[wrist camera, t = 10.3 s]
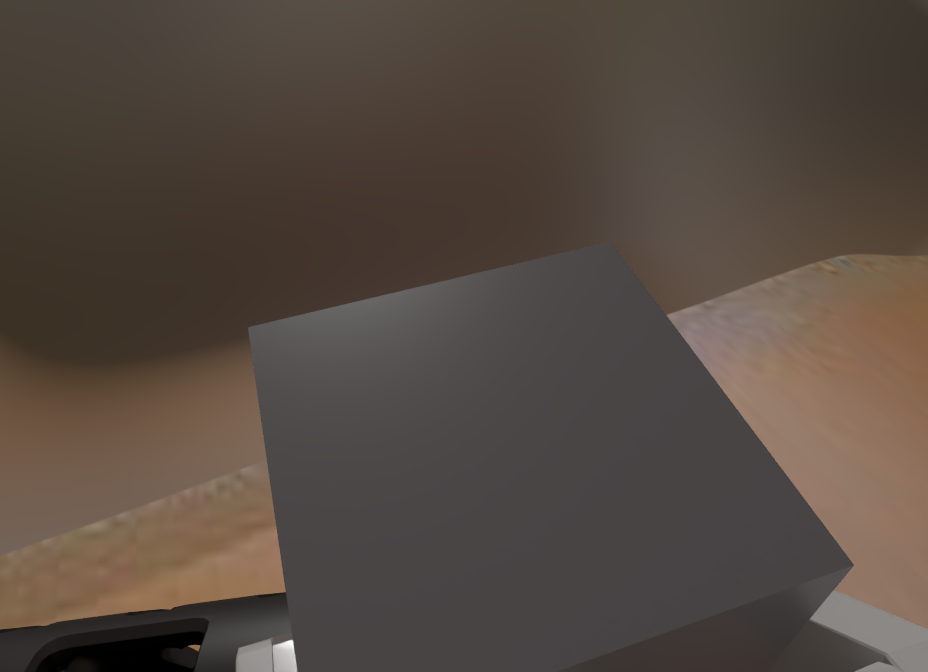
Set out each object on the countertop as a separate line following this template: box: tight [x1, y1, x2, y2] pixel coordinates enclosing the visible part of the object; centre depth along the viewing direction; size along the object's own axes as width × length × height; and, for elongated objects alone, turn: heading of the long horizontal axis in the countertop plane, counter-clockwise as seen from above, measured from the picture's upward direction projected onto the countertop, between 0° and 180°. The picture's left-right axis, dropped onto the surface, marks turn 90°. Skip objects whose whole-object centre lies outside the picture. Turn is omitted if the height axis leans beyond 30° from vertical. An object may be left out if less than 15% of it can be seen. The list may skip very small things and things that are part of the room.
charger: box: [248, 242, 854, 672], centre depth 11 cm, size 4×5×12 cm
